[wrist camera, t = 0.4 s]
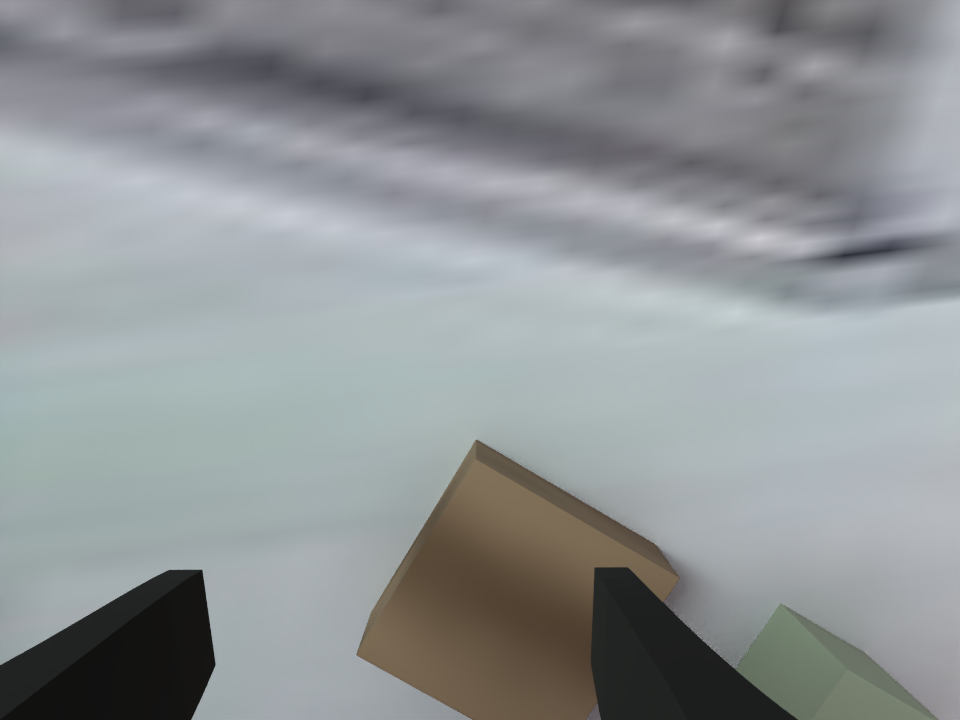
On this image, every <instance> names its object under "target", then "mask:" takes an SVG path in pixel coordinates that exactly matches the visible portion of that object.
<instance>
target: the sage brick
mask: <svg viewBox="0 0 960 720" xmlns="http://www.w3.org/2000/svg"><path fill="white" fill-rule="evenodd" d="M735 670H736V671H738V672H739V673H740V674H741V675H742V676H744V677H745V678H746V679H747V680H748V681H749V682H751V683H752V684H753V685H754V686H755V687H757V688H758V689H759V690H760V691H761V692H763V693H764V694H765V695H766V696H768V697H769V698H770V699H772V700H773V701H774V702H775V703H777V704H778V705H779V706H780V707H782V708H783V709H785V710H786V711H787V712H789V713H790V714H791V715H793V716H794V717H795V718H797V719H798V720H939V719H938V718H936V717H935V716H934V715H933V714H932V713H931V712H930V711H929V710H928V709H926V708H925V707H924V706H923V705H922V704H921V703H920V702H919V701H918V700H917V699H915V698H914V697H913V696H912V695H911V694H910V693H909V692H908V691H907V690H905V689H904V688H903V687H902V686H901V685H900V684H899V683H898V682H897V681H896V680H894V679H893V678H892V677H891V676H890V675H889V674H888V673H887V672H886V671H884V670H883V669H882V668H881V667H880V666H879V665H878V664H877V663H876V662H874V661H873V660H872V659H871V658H870V657H869V656H868V655H867V654H866V653H864V652H862V651H861V650H859V649H857V648H856V647H854V646H852V645H851V644H849V643H847V642H845V641H844V640H842V639H840V638H839V637H837V636H835V635H834V634H832V633H830V632H828V631H827V630H825V629H823V628H822V627H820V626H818V625H817V624H815V623H813V622H811V621H810V620H808V619H806V618H805V617H803V616H801V615H800V614H798V613H796V612H794V611H793V610H791V609H789V608H788V607H786V606H784V605H783V604H780V605H779V607H778V608H777V610H776V611H775V613H774V614H773V615H772V617H771V618H770V620H769V621H768V623H767V624H766V626H765V627H764V628H763V630H762V631H761V633H760V634H759V636H758V637H757V639H756V640H755V642H754V643H753V644H752V646H751V647H750V649H749V650H748V652H747V653H746V655H745V656H744V658H743V659H742V660H741V662H740V663H739V665H738V666H737V668H736V669H735Z"/></svg>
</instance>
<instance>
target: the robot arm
mask: <svg viewBox="0 0 960 720" xmlns="http://www.w3.org/2000/svg"><path fill="white" fill-rule="evenodd" d="M214 667H215V658H214V650H213V643H212V636H211V629H210V622H209V615H208V608H207V600H206V593H205V586H204V579H203V572H202V570H168V571H166V572H164V573H162V574H160V575H158V576H156V577H154V578H152V579H150V580H148V581H147V582H145V583H143V584H141V585H139V586H138V587H136V588H134V589H132V590H131V591H129V592H127V593H125V594H124V595H122V596H120V597H119V598H117V599H115V600H113V601H112V602H110V603H108V604H107V605H105V606H103V607H101V608H100V609H98V610H96V611H95V612H93V613H91V614H90V615H88V616H86V617H84V618H83V619H81V620H79V621H78V622H76V623H74V624H72V625H71V626H69V627H67V628H66V629H64V630H62V631H60V632H59V633H57V634H55V635H54V636H52V637H50V638H48V639H47V640H45V641H43V642H42V643H40V644H38V645H36V646H34V647H33V648H31V649H29V650H27V651H25V652H24V653H22V654H20V655H18V656H16V657H14V658H13V659H11V660H9V661H7V662H5V663H4V664H2V665H0V720H191V719H192V717H193V715H194V712H195V710H196V708H197V706H198V704H199V702H200V700H201V698H202V695H203V693H204V691H205V688H206V686H207V684H208V681H209V679H210V677H211V674H212V672H213V670H214ZM591 668H592V674H593V679H594V685H595V691H596V696H597V701H598V707H599V712H600V717H601V720H798V719H797V718H795V717H794V716H793V715H791V714H790V713H789V712H787V711H786V710H785V709H783V708H782V707H780V706H779V705H778V704H777V703H775V702H774V701H773V700H772V699H770V698H769V697H768V696H766V695H765V694H764V693H763V692H761V691H760V690H759V689H758V688H757V687H755V686H754V685H753V684H752V683H751V682H749V681H748V680H747V679H746V678H745V677H744V676H742V675H741V674H740V673H739V672H738V671H736V670H735V669H734V668H733V667H732V666H730V665H729V664H728V663H727V662H726V661H725V660H723V659H722V658H721V657H720V656H719V655H718V654H717V653H716V652H715V651H713V650H712V649H711V648H710V647H709V646H708V645H707V644H706V643H705V642H703V641H702V640H701V639H700V638H699V637H698V636H697V635H696V634H695V633H694V632H693V631H692V630H691V629H690V628H689V627H687V626H686V625H685V624H684V623H683V622H682V621H681V620H680V619H679V618H678V617H677V616H676V615H675V614H674V613H673V612H672V611H671V610H670V609H669V608H668V607H667V606H666V605H665V604H664V603H663V602H662V601H661V600H660V599H659V598H658V597H657V596H656V595H655V594H654V593H653V592H652V591H651V590H650V589H649V588H648V587H647V586H646V585H645V584H644V583H643V582H642V581H641V580H640V579H639V578H638V577H637V576H636V575H635V574H634V573H633V572H632V571H631V570H630V569H629V568H628V567H595V568H594V592H593V617H592V642H591Z"/></svg>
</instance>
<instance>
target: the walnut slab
mask: <svg viewBox="0 0 960 720" xmlns="http://www.w3.org/2000/svg"><path fill="white" fill-rule="evenodd" d="M595 567H628V568H629V569H630V570H631V571H632V572H633V573H634V574H635V575H636V576H637V577H638V578H639V579H640V580H641V581H642V582H643V583H644V584H645V585H646V586H647V587H648V588H649V589H650V590H651V591H652V592H653V593H654V594H655V595H656V596H657V597H658V598H659V599H660V600H661V601H662V602H664V601H665V599H666V598H667V596H668V595H669V593H670V592H671V590H672V589H673V587H674V586H675V584H676V583H677V581H678V580H679V576H678V575H677V574H676V572H675V571H674V570H673V568H672V567H671V565H670V564H669V563H668V561H667V560H666V559H665V557H664V556H663V555H662V553H661V552H660V550H659V549H658V548H657V546H656V545H655V544H654V543H652V542H651V541H649V540H647V539H645V538H644V537H642V536H640V535H639V534H637V533H635V532H633V531H632V530H630V529H628V528H627V527H625V526H623V525H622V524H620V523H618V522H616V521H615V520H613V519H611V518H610V517H608V516H606V515H604V514H603V513H601V512H599V511H598V510H596V509H594V508H593V507H591V506H589V505H587V504H586V503H584V502H582V501H581V500H579V499H577V498H575V497H574V496H572V495H570V494H569V493H567V492H565V491H563V490H562V489H560V488H558V487H557V486H555V485H553V484H552V483H550V482H548V481H546V480H545V479H543V478H541V477H540V476H538V475H536V474H534V473H533V472H531V471H529V470H528V469H526V468H524V467H522V466H521V465H519V464H517V463H516V462H514V461H512V460H511V459H509V458H507V457H505V456H504V455H502V454H500V453H499V452H497V451H495V450H493V449H492V448H490V447H488V446H487V445H485V444H483V443H482V442H480V441H478V440H476V441H475V443H474V444H473V446H472V448H471V449H470V451H469V452H468V454H467V456H466V457H465V459H464V461H463V462H462V464H461V466H460V467H459V469H458V471H457V472H456V474H455V475H454V477H453V479H452V480H451V482H450V484H449V485H448V487H447V489H446V490H445V492H444V494H443V495H442V497H441V498H440V500H439V502H438V503H437V505H436V507H435V508H434V510H433V512H432V513H431V515H430V517H429V518H428V520H427V521H426V523H425V525H424V526H423V528H422V530H421V531H420V533H419V535H418V536H417V538H416V540H415V541H414V543H413V544H412V546H411V548H410V549H409V551H408V553H407V554H406V556H405V558H404V559H403V561H402V563H401V564H400V566H399V567H398V569H397V571H396V572H395V574H394V576H393V577H392V579H391V581H390V582H389V584H388V586H387V587H386V589H385V590H384V592H383V594H382V595H381V597H380V599H379V600H378V602H377V604H376V605H375V607H374V609H373V610H372V612H371V614H370V617H369V620H368V623H367V626H366V629H365V631H364V634H363V637H362V640H361V643H360V646H359V648H358V651H357V654H356V655H357V656H359V657H360V658H362V659H364V660H366V661H368V662H369V663H371V664H373V665H375V666H377V667H378V668H380V669H382V670H384V671H386V672H388V673H389V674H391V675H393V676H395V677H397V678H398V679H400V680H402V681H404V682H406V683H407V684H409V685H411V686H413V687H415V688H416V689H418V690H420V691H422V692H424V693H425V694H427V695H429V696H431V697H433V698H434V699H436V700H438V701H440V702H442V703H444V704H445V705H447V706H449V707H451V708H453V709H454V710H456V711H458V712H460V713H462V714H463V715H465V716H467V717H469V718H471V719H472V720H586V718H587V717H588V715H589V714H590V712H591V711H592V709H593V708H594V706H595V705H596V703H597V702H598V701H597V696H596V691H595V685H594V679H593V674H592V668H591V642H592V617H593V592H594V568H595Z"/></svg>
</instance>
